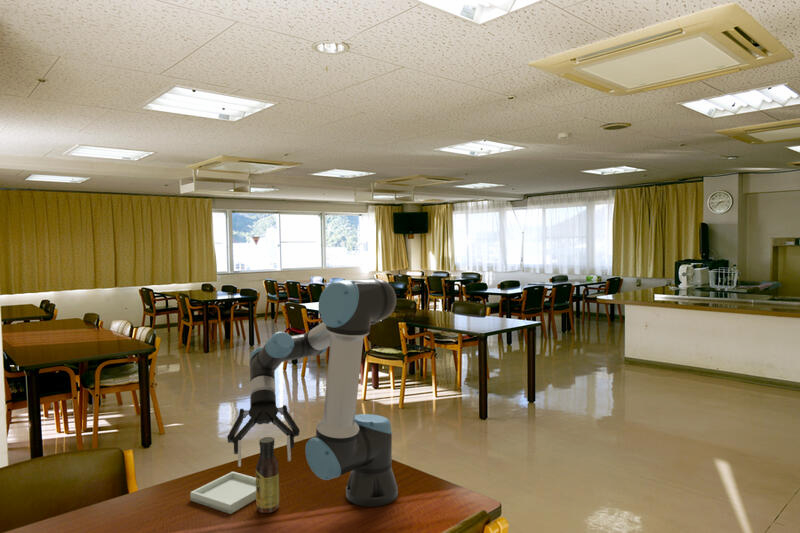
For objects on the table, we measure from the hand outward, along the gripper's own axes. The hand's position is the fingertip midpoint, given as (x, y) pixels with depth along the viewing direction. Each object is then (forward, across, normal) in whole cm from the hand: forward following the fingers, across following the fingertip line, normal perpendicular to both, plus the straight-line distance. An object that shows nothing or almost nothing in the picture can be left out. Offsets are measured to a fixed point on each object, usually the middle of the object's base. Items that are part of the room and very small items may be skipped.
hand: (264, 461), depth 149 cm
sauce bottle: (+10, -1, -8) cm, 13 cm away
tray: (+2, +9, -15) cm, 18 cm away
